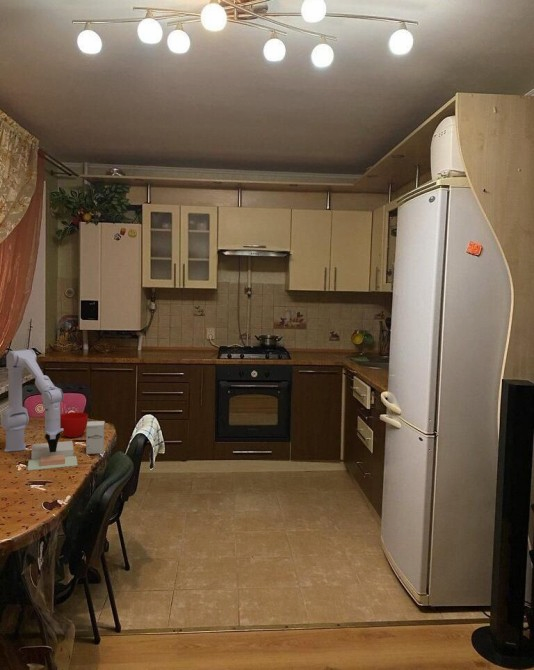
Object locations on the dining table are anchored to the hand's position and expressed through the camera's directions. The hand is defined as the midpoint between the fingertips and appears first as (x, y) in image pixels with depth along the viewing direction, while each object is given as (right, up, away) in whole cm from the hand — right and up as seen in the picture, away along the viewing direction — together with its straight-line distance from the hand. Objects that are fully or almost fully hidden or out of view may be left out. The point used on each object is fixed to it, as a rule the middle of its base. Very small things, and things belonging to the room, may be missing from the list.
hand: (52, 451), depth 206 cm
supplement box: (+13, -3, +14) cm, 19 cm away
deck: (-4, -3, +9) cm, 10 cm away
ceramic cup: (-5, -1, +38) cm, 38 cm away
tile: (+1, -2, -3) cm, 4 cm away
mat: (+1, -4, -3) cm, 5 cm away
